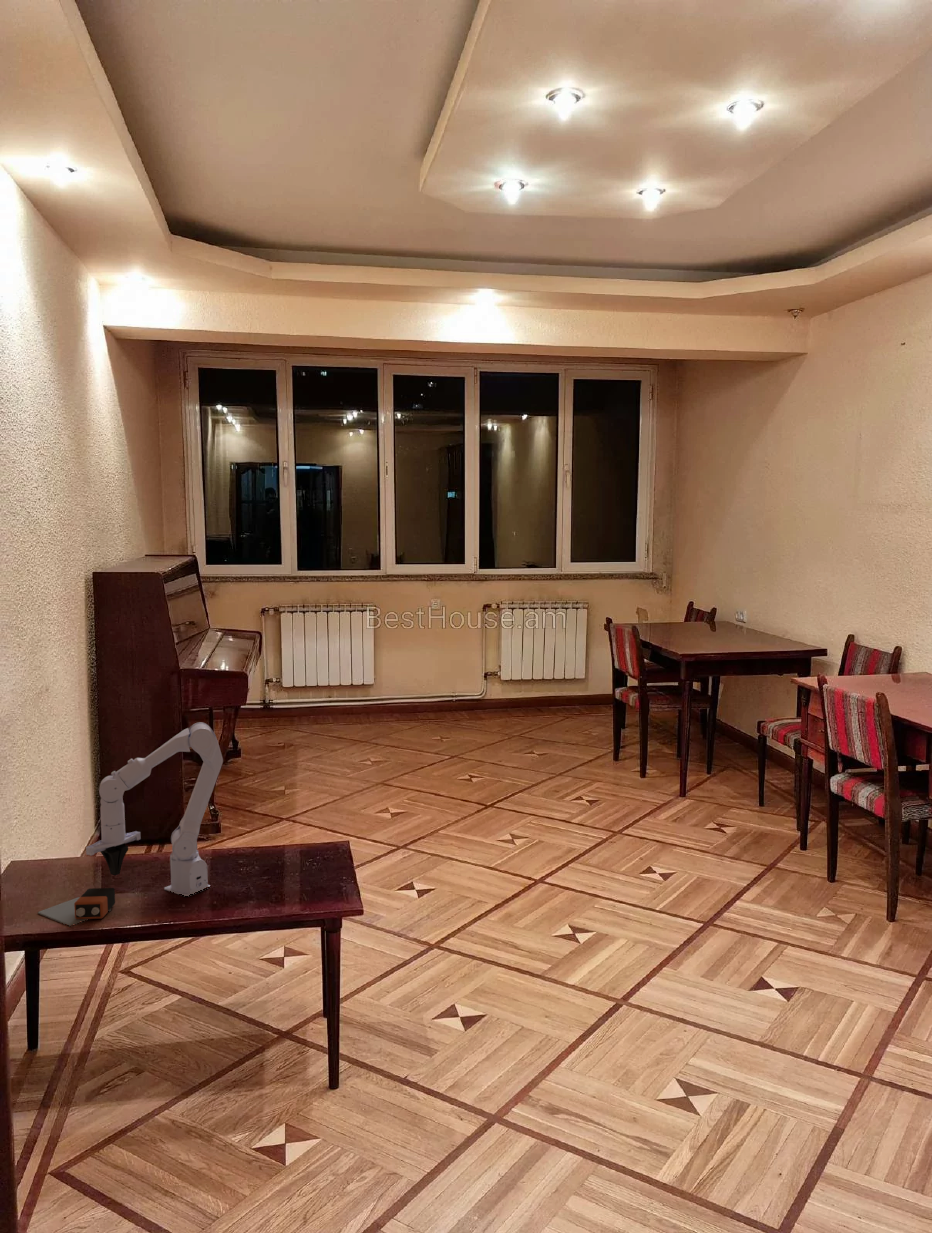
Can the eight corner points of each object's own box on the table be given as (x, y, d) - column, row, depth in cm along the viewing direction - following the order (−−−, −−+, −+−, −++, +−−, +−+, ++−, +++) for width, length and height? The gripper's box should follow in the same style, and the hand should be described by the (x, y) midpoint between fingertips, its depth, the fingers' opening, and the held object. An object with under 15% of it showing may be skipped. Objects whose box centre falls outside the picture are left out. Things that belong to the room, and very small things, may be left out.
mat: (111, 910, 216) (111, 909, 216) (70, 926, 207) (70, 925, 207) (78, 898, 224) (78, 896, 224) (37, 913, 215) (37, 911, 215)
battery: (87, 887, 219) (72, 904, 209) (115, 887, 219) (100, 903, 209) (88, 904, 219) (72, 921, 209) (115, 903, 220) (101, 920, 210)
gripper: (128, 812, 231) (130, 862, 232) (77, 827, 219) (80, 879, 220) (144, 817, 227) (146, 867, 228) (94, 832, 215) (96, 885, 216)
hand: (115, 873), depth 224 cm, fingers closed
